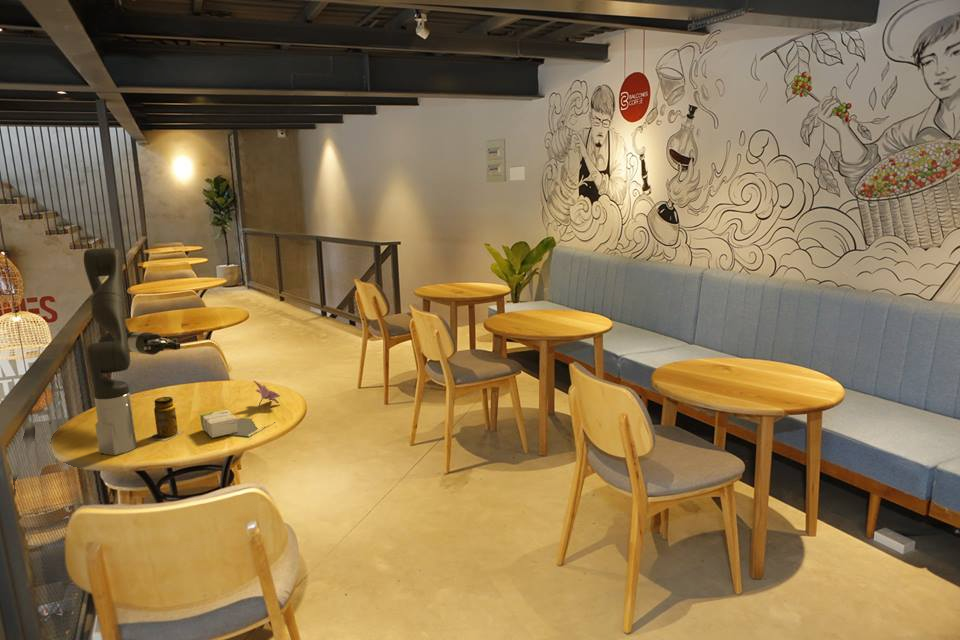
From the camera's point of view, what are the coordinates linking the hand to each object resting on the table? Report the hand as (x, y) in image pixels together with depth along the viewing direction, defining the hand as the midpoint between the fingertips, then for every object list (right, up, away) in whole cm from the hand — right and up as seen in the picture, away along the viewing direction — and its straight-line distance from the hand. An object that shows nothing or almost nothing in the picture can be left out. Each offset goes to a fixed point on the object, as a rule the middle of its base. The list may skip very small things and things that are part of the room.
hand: (178, 346), depth 219 cm
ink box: (+13, -24, -3) cm, 27 cm away
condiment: (0, -28, -9) cm, 30 cm away
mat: (+24, -26, -4) cm, 36 cm away
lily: (+24, -22, +17) cm, 37 cm away
